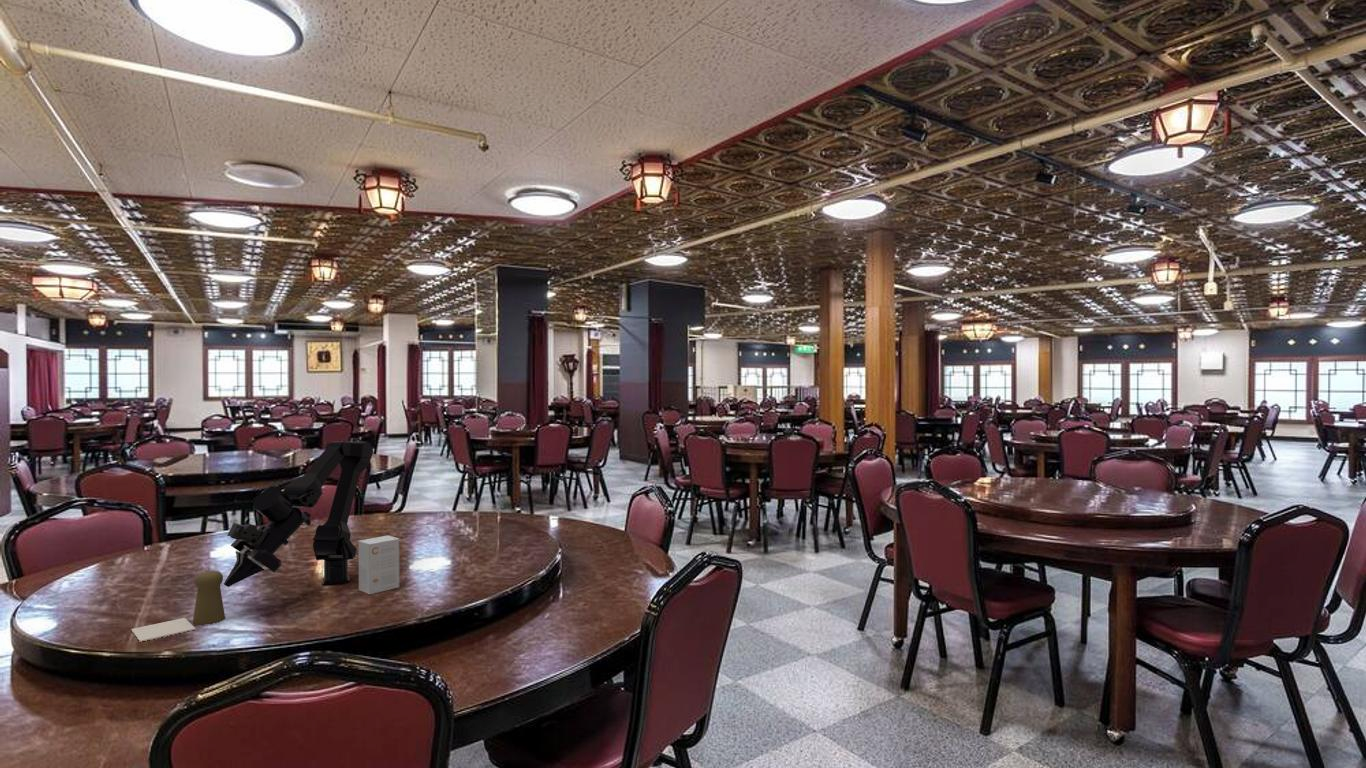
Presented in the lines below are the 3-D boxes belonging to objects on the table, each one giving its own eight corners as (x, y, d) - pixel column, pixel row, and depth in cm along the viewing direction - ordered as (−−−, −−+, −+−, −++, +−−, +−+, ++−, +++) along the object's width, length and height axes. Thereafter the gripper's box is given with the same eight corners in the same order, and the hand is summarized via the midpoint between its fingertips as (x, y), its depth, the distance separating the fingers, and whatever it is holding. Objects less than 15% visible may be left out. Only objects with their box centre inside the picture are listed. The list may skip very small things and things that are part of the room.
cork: (231, 617, 153) (231, 569, 153) (205, 626, 147) (205, 576, 147) (212, 615, 155) (212, 567, 155) (185, 623, 149) (185, 574, 149)
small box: (388, 583, 179) (388, 534, 180) (400, 587, 175) (399, 538, 175) (357, 590, 173) (357, 540, 173) (369, 595, 169) (369, 543, 169)
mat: (184, 619, 152) (184, 617, 152) (195, 630, 145) (195, 628, 145) (131, 630, 145) (131, 629, 145) (139, 642, 138) (139, 640, 138)
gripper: (241, 505, 164) (185, 558, 155) (265, 514, 151) (206, 573, 143) (276, 532, 169) (225, 585, 161) (303, 543, 157) (248, 601, 148)
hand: (225, 585), depth 153 cm, fingers closed
